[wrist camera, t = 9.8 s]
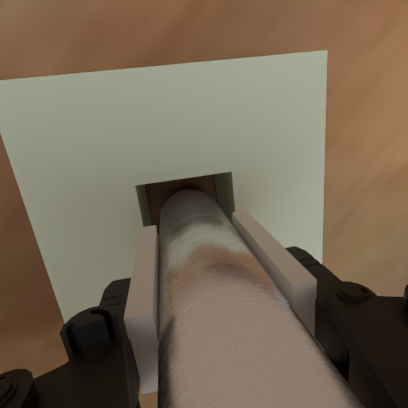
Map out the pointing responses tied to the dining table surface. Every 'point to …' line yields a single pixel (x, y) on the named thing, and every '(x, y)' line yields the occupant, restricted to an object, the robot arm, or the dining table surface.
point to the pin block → (163, 156)
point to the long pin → (231, 322)
